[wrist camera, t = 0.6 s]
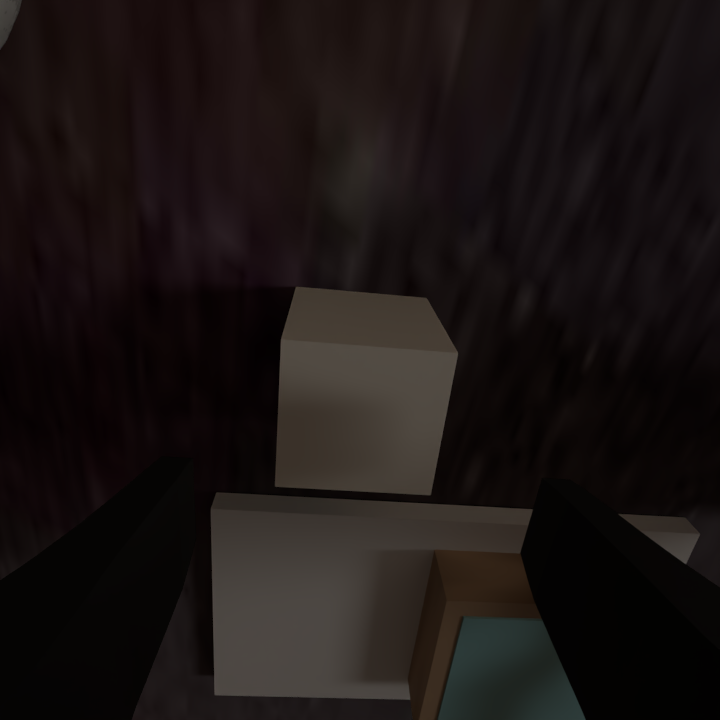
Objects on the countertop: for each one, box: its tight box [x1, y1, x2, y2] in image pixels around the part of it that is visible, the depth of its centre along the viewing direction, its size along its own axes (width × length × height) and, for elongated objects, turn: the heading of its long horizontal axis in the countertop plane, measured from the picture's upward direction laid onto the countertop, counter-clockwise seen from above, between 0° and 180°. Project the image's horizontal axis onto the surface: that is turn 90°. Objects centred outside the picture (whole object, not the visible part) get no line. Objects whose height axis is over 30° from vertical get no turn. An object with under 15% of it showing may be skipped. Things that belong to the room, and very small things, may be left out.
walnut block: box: [408, 550, 585, 720], centre depth 21 cm, size 8×8×3 cm
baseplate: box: [211, 492, 700, 700], centre depth 23 cm, size 20×11×1 cm, turn 84°
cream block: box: [275, 287, 458, 495], centre depth 16 cm, size 4×4×5 cm
